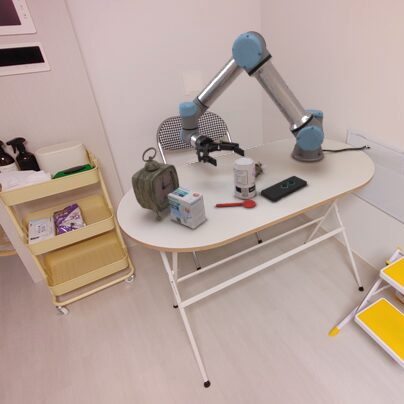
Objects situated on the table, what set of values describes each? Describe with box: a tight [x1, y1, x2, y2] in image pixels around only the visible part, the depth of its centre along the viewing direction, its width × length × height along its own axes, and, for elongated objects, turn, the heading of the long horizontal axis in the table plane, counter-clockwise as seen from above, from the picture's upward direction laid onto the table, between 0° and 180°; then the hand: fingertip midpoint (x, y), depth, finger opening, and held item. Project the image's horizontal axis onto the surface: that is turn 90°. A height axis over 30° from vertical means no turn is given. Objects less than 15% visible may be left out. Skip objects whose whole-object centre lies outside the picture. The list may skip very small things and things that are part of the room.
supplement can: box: [233, 156, 257, 200], centre depth 119 cm, size 8×8×15 cm
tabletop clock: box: [131, 146, 180, 221], centre depth 107 cm, size 14×9×25 cm, turn 160°
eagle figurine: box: [255, 161, 267, 179], centre depth 135 cm, size 8×7×9 cm
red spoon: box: [215, 199, 256, 209], centre depth 116 cm, size 15×5×1 cm, turn 96°
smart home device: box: [260, 175, 308, 203], centre depth 125 cm, size 8×2×20 cm
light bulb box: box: [168, 186, 207, 230], centre depth 106 cm, size 11×7×11 cm, turn 58°
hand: (230, 158), depth 122 cm, fingers open, 13 cm apart
